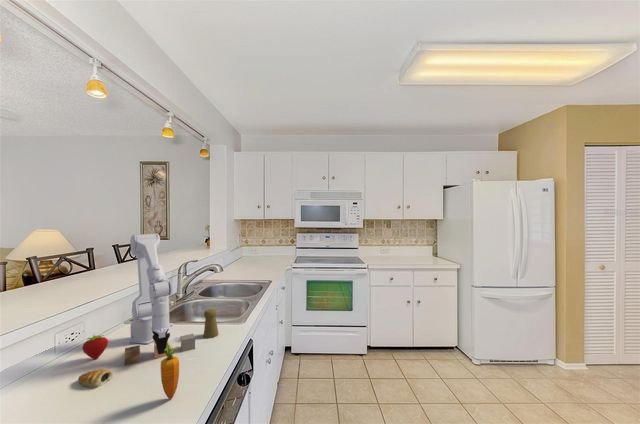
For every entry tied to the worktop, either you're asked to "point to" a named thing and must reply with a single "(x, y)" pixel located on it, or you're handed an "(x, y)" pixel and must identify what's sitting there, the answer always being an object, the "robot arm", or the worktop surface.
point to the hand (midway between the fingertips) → (161, 350)
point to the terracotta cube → (157, 351)
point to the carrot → (170, 372)
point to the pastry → (95, 378)
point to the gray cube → (187, 342)
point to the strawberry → (95, 346)
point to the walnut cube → (132, 355)
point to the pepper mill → (210, 323)
